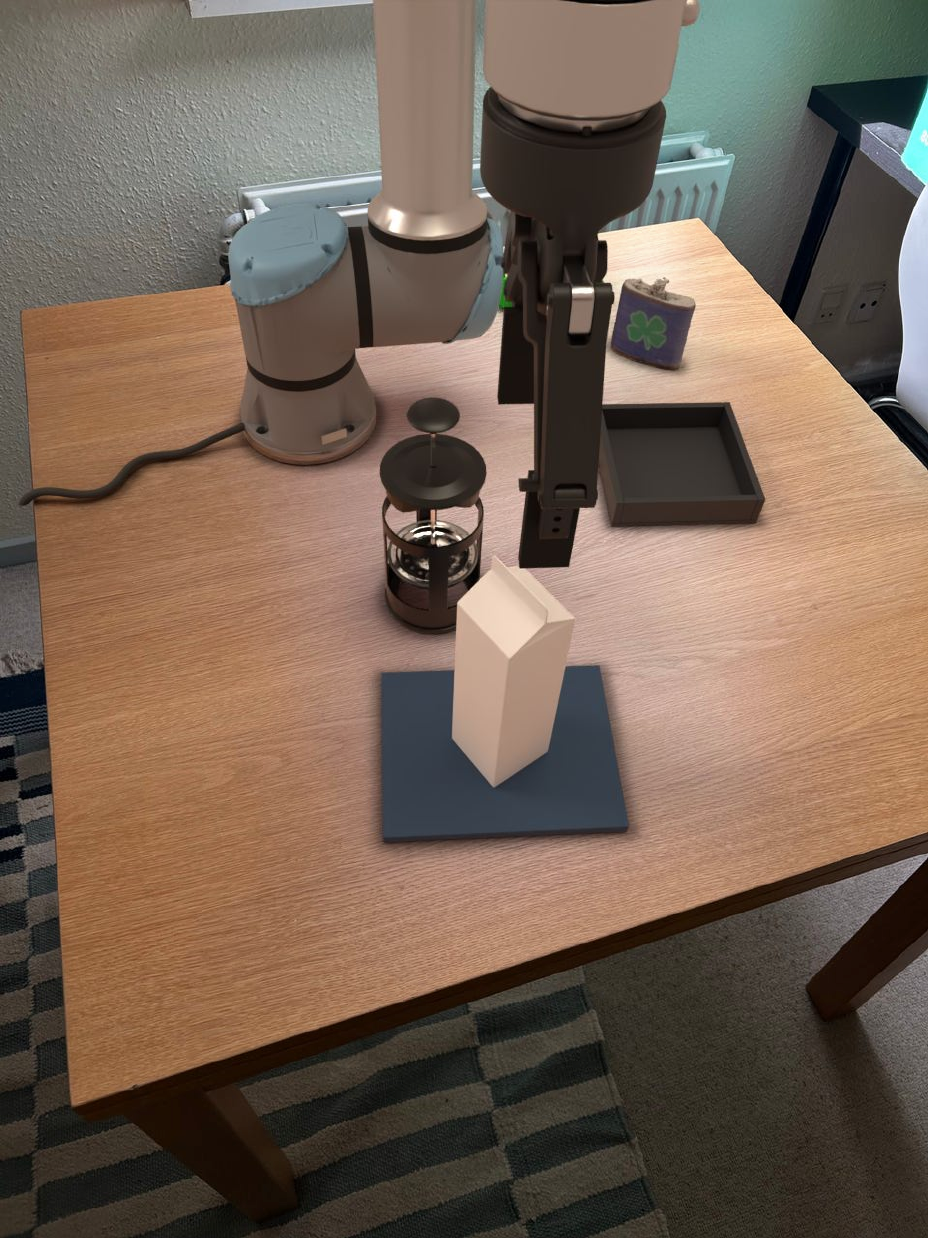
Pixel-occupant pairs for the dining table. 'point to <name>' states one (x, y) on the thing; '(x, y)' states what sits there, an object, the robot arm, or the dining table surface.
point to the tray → (676, 465)
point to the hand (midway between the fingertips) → (530, 475)
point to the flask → (652, 324)
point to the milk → (508, 670)
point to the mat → (463, 798)
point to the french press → (431, 516)
